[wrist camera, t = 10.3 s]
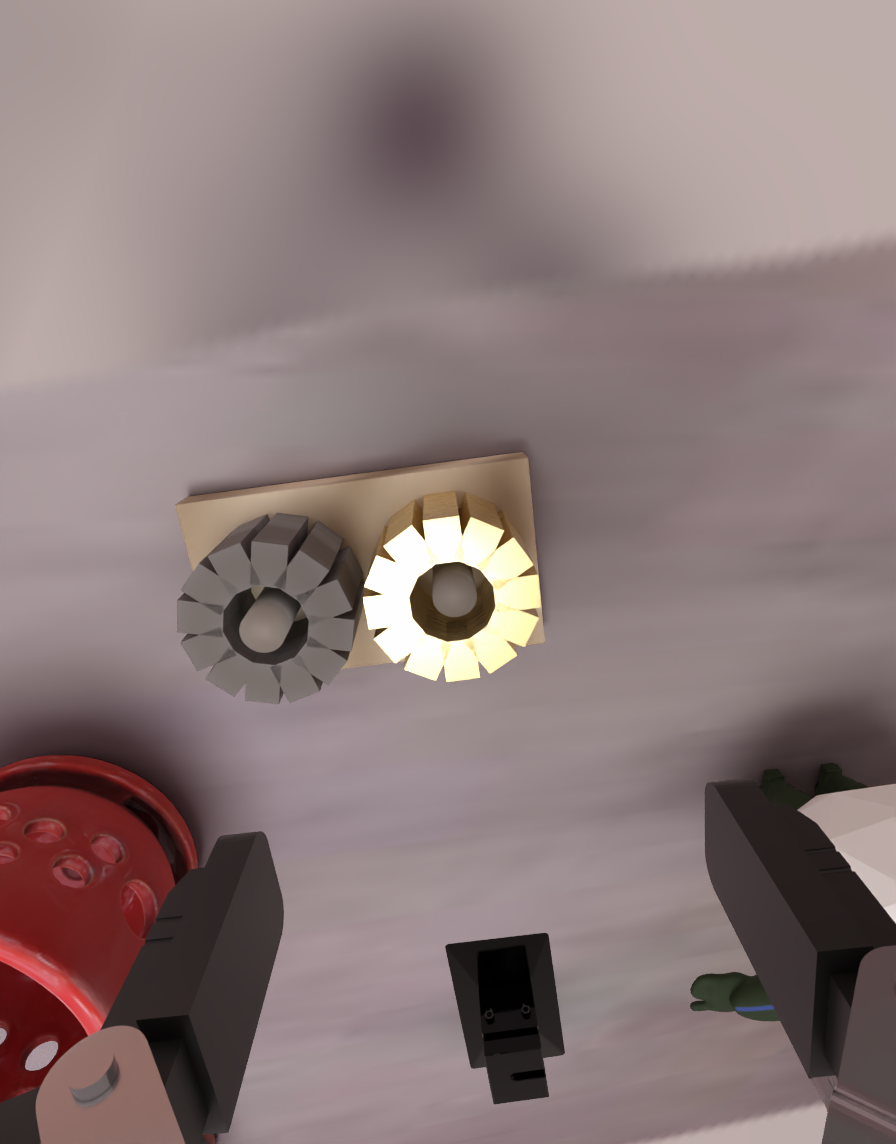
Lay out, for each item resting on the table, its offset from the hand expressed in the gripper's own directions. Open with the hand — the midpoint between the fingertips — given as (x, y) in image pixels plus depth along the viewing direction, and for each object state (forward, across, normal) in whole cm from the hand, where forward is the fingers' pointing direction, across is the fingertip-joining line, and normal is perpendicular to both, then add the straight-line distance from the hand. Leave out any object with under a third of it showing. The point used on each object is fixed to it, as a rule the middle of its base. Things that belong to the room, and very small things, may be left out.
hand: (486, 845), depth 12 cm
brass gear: (+16, 0, 0) cm, 16 cm away
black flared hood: (+19, 0, +26) cm, 32 cm away
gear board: (+18, +4, 0) cm, 18 cm away
